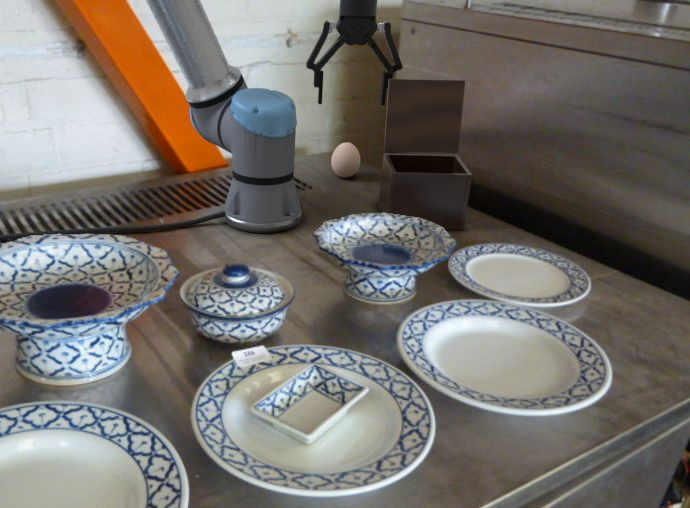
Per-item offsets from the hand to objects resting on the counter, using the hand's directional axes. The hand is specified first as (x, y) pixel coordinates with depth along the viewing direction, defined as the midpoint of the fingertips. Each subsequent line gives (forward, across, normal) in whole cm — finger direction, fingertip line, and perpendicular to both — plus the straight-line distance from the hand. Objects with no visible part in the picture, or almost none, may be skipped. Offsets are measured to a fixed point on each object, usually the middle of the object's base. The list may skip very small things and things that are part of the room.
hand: (351, 103), depth 144 cm
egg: (+17, 0, 0) cm, 17 cm away
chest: (+16, +13, -24) cm, 32 cm away
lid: (-1, +13, -16) cm, 21 cm away
